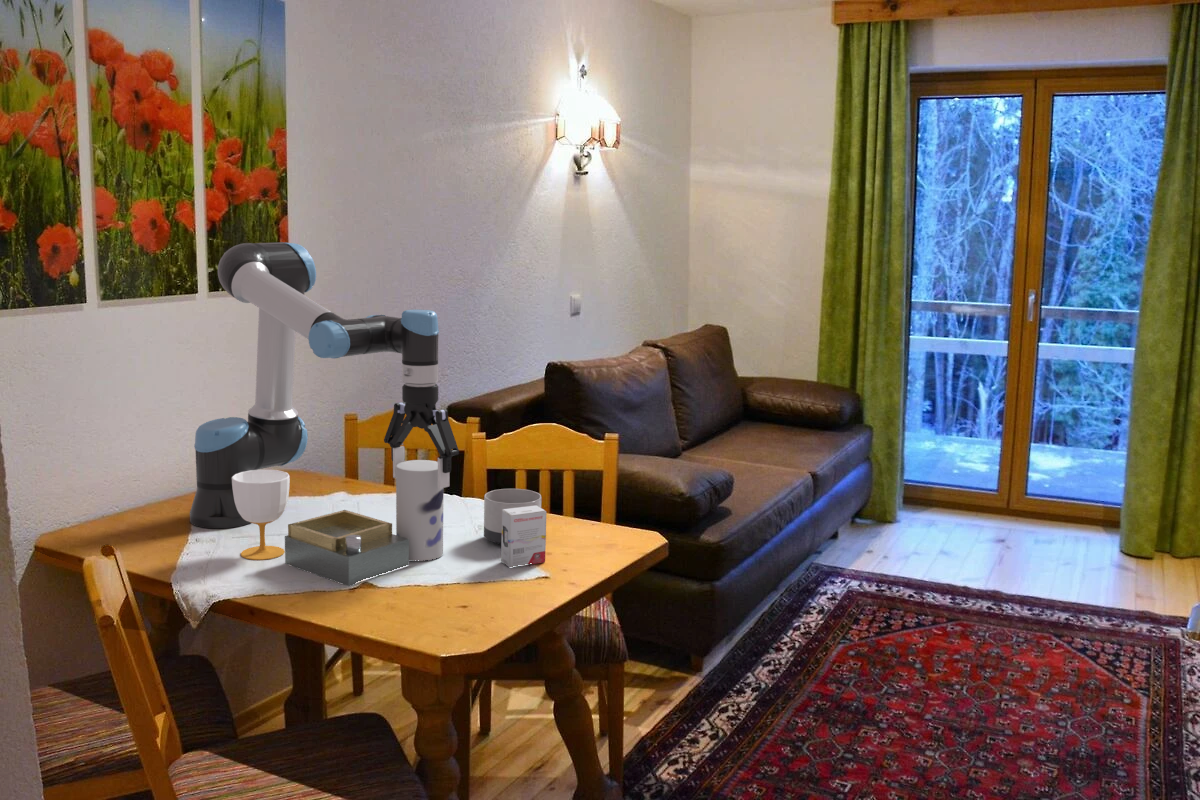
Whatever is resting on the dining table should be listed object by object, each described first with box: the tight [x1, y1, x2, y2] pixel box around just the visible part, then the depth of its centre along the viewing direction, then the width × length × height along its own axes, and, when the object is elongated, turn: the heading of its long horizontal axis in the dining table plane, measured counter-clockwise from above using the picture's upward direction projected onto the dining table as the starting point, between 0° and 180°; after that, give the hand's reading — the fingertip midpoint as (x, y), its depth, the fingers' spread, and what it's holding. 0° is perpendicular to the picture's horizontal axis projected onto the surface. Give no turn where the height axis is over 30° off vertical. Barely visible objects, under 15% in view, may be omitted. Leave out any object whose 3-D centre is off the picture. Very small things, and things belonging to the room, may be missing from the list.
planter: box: [483, 488, 542, 546], centre depth 248 cm, size 13×13×10 cm
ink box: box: [500, 505, 547, 568], centre depth 233 cm, size 9×5×12 cm, turn 119°
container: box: [395, 459, 445, 562], centre depth 236 cm, size 10×10×20 cm
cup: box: [232, 469, 291, 561], centre depth 233 cm, size 12×12×17 cm
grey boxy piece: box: [284, 509, 410, 587], centre depth 228 cm, size 20×16×9 cm
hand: (420, 482), depth 234 cm, fingers open, 13 cm apart
